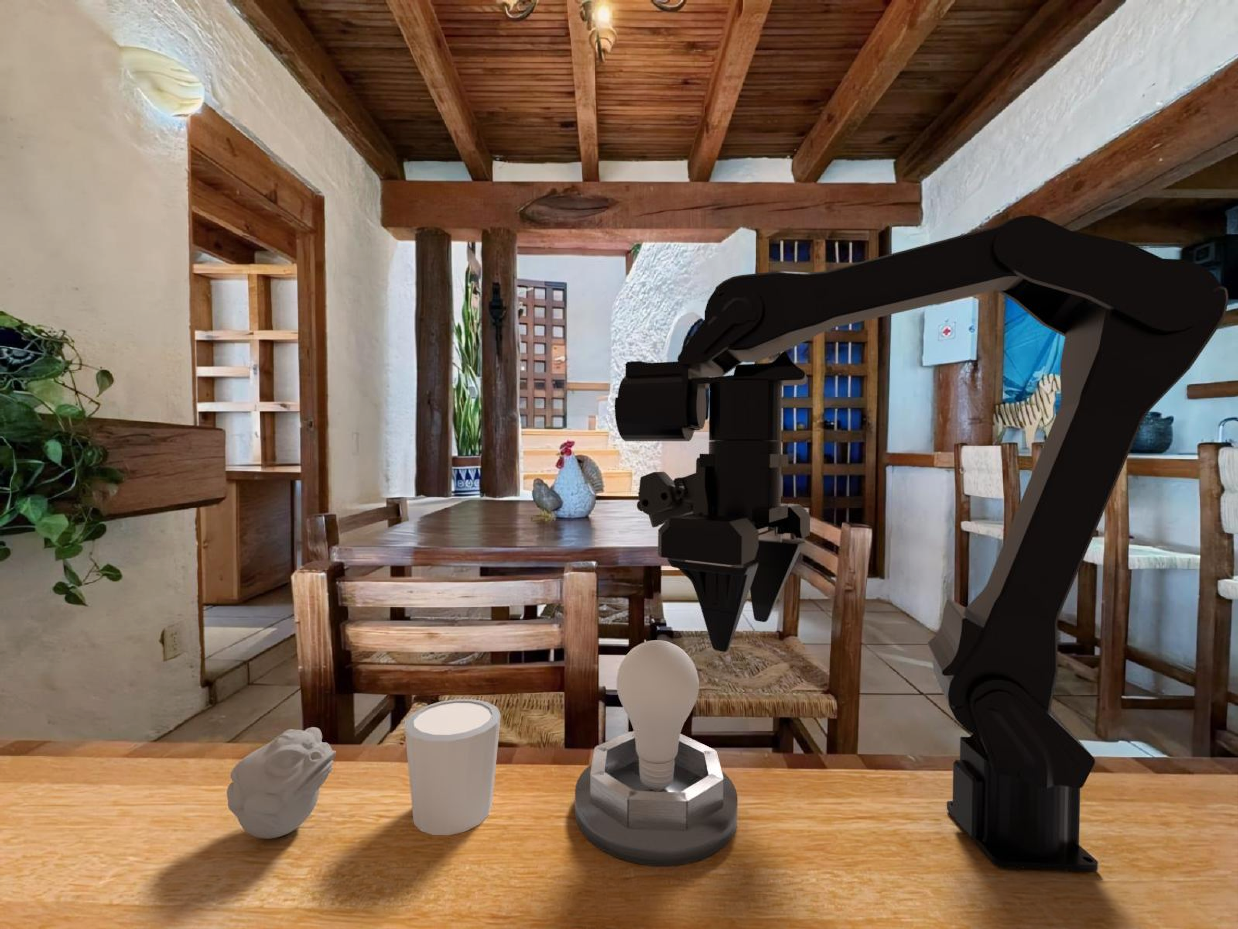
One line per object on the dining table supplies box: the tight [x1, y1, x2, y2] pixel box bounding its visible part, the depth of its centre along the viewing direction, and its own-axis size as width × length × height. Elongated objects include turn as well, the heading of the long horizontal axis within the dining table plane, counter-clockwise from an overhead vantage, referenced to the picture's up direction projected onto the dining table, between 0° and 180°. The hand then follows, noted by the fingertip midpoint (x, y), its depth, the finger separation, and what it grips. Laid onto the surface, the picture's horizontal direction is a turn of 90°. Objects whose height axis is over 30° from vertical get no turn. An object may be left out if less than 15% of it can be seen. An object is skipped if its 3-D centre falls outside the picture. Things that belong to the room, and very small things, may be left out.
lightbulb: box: [616, 639, 700, 791], centre depth 43 cm, size 6×6×11 cm
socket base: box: [574, 730, 739, 867], centre depth 43 cm, size 12×12×4 cm
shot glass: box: [404, 698, 502, 836], centre depth 42 cm, size 7×7×7 cm
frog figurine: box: [226, 726, 337, 840], centre depth 40 cm, size 6×7×7 cm
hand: (742, 634), depth 46 cm, fingers open, 9 cm apart
